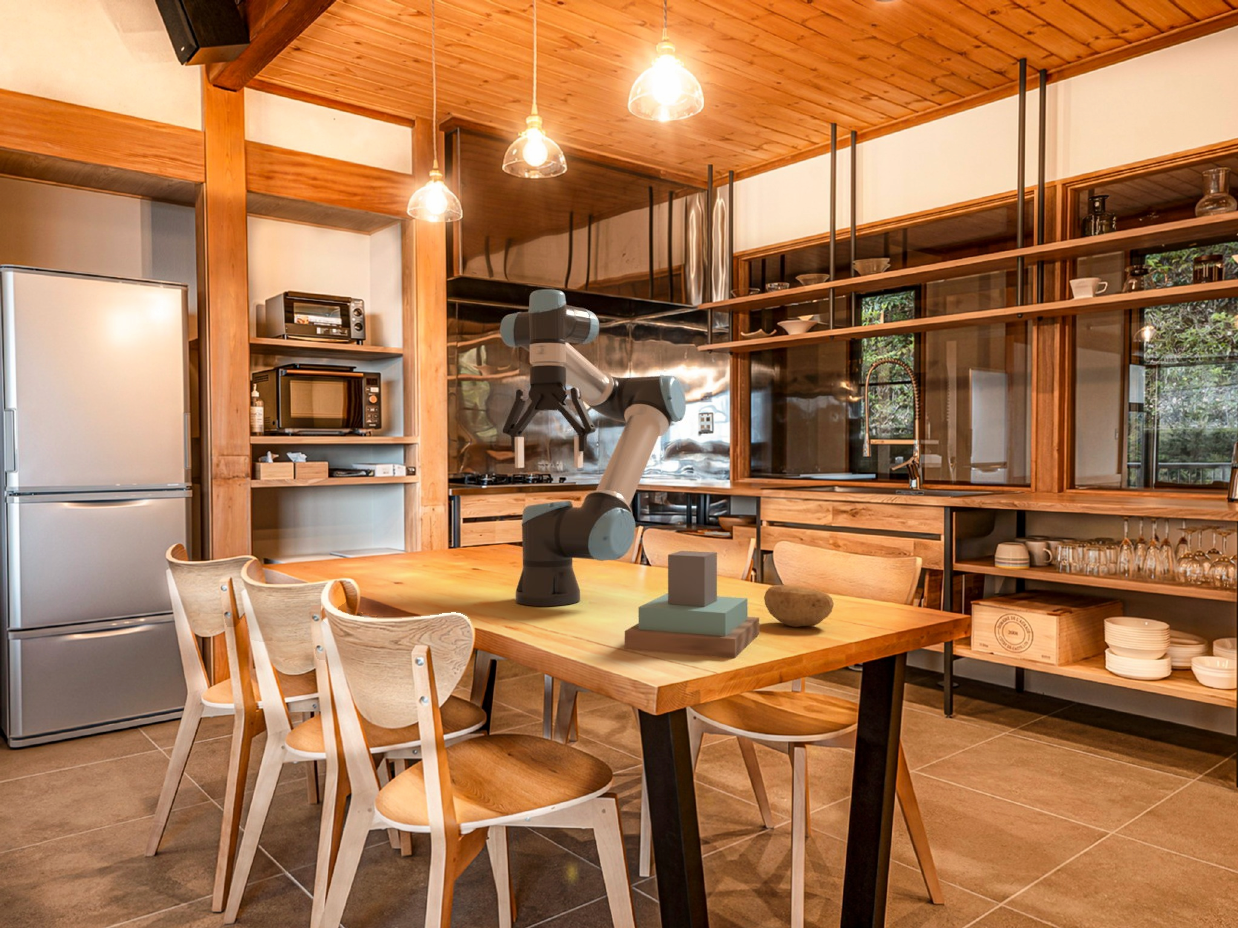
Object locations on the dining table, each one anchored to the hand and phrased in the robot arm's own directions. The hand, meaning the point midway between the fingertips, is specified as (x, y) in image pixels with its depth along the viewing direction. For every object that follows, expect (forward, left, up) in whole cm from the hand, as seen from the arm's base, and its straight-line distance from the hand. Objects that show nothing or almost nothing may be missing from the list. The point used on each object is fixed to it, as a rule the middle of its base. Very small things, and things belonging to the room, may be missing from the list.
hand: (548, 468), depth 182 cm
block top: (+10, +34, -28) cm, 46 cm away
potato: (-10, +50, -32) cm, 60 cm away
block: (+10, +34, -24) cm, 43 cm away
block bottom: (+10, +34, -32) cm, 48 cm away
